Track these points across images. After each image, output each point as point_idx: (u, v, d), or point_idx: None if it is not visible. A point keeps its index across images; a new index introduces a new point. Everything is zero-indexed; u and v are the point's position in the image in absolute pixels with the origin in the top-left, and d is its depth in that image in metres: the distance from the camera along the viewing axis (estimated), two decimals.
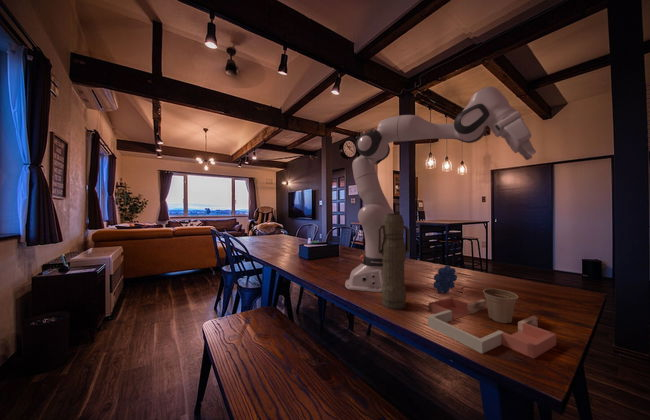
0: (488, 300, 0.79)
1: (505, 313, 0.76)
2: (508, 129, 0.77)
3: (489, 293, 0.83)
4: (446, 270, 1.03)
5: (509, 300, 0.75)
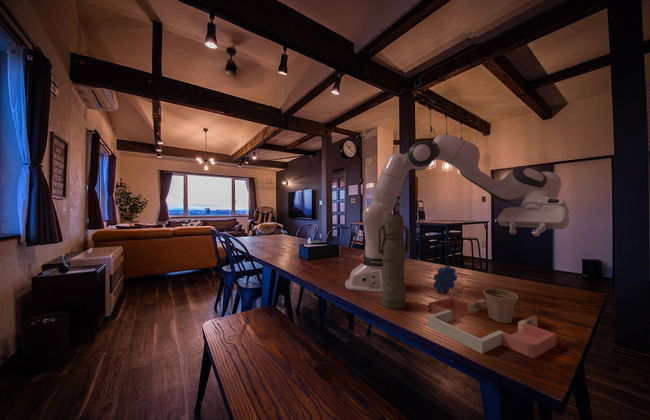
0: (488, 300, 0.79)
1: (505, 313, 0.76)
2: (565, 210, 0.80)
3: (489, 293, 0.83)
4: (446, 270, 1.03)
5: (509, 300, 0.75)
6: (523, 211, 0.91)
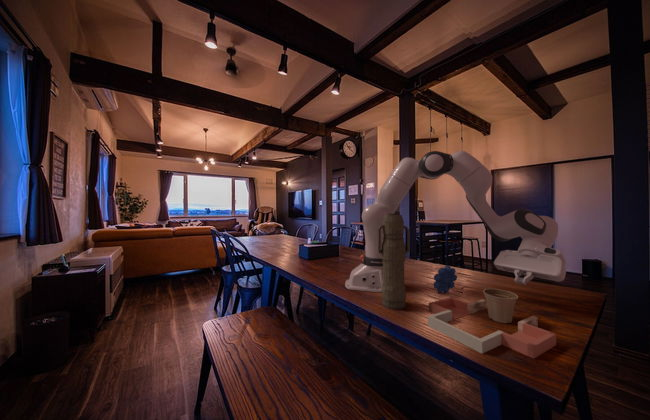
0: (488, 300, 0.79)
1: (505, 313, 0.76)
2: (562, 262, 0.79)
3: (489, 293, 0.83)
4: (446, 270, 1.03)
5: (509, 300, 0.75)
6: (520, 257, 0.90)
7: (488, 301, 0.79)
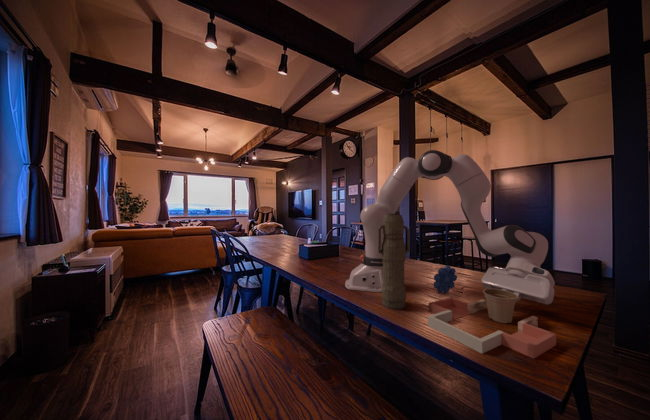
0: (488, 300, 0.79)
1: (505, 313, 0.76)
2: (550, 284, 0.75)
3: (489, 293, 0.83)
4: (446, 270, 1.03)
5: (509, 300, 0.75)
6: (507, 276, 0.86)
7: (488, 301, 0.79)
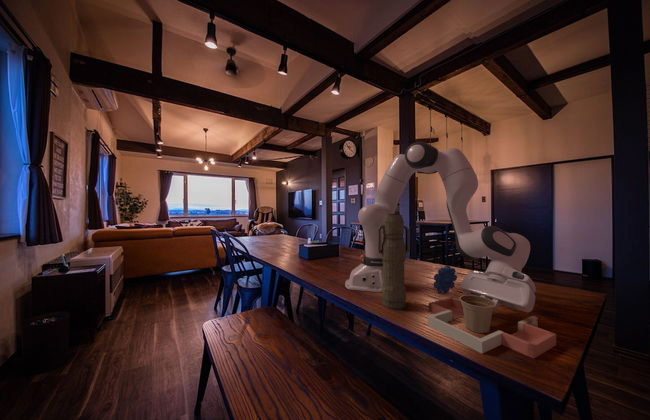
0: (464, 308, 0.73)
1: (482, 322, 0.70)
2: (530, 290, 0.69)
3: (467, 300, 0.77)
4: (446, 270, 1.03)
5: (485, 308, 0.68)
6: (487, 281, 0.80)
7: (464, 309, 0.73)
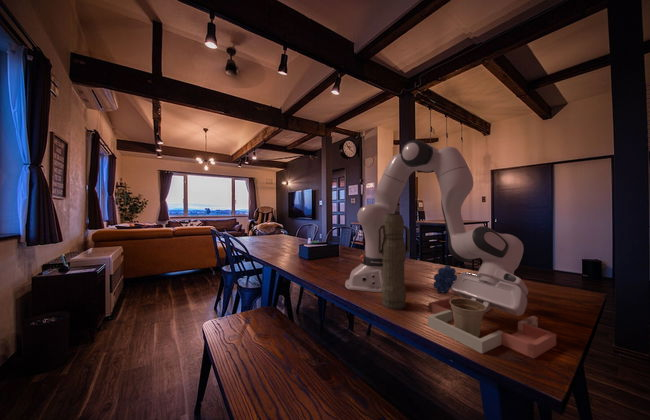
0: (454, 311, 0.70)
1: (471, 326, 0.67)
2: (522, 293, 0.67)
3: (457, 303, 0.75)
4: (446, 270, 1.03)
5: (475, 312, 0.66)
6: (478, 283, 0.77)
7: (454, 313, 0.71)
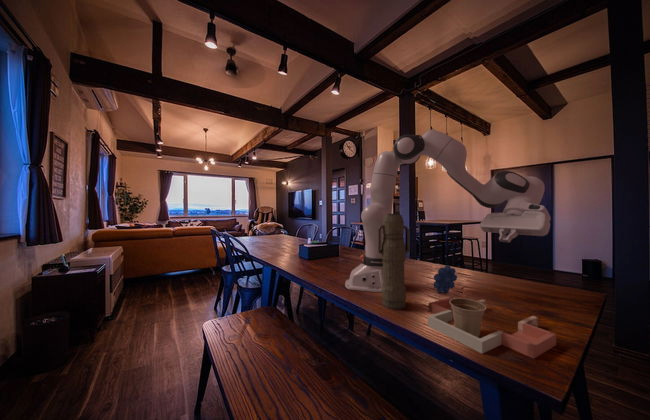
0: (454, 311, 0.70)
1: (471, 326, 0.67)
2: (546, 216, 0.78)
3: (457, 303, 0.75)
4: (446, 270, 1.03)
5: (475, 312, 0.66)
6: (505, 217, 0.88)
7: (454, 313, 0.71)
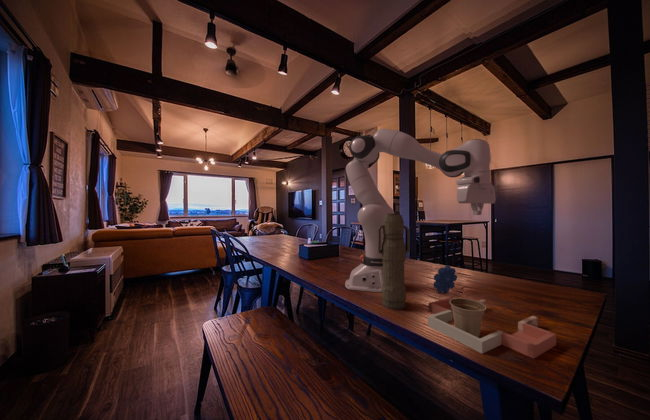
0: (454, 311, 0.70)
1: (471, 326, 0.67)
2: (457, 189, 0.92)
3: (457, 303, 0.75)
4: (446, 270, 1.03)
5: (475, 312, 0.66)
6: None
7: (454, 313, 0.71)
